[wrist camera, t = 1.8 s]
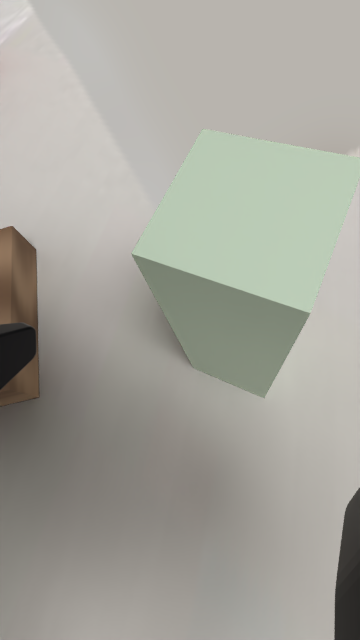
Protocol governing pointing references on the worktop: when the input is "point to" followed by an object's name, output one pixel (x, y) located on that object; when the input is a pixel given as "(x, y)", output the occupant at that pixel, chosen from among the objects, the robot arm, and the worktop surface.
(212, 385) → the worktop surface
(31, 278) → the walnut base
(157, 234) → the sage block
